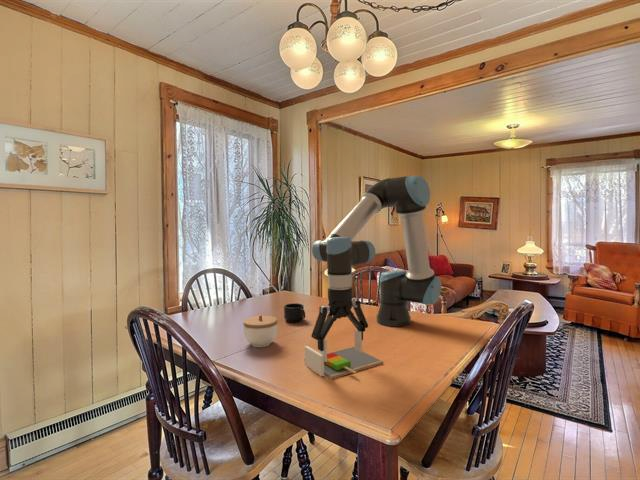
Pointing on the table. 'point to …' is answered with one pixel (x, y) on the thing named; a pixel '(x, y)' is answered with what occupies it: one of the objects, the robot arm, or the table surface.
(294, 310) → the mug
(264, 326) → the lidded bowl
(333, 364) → the popsicle
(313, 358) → the word card
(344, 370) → the slate board
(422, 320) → the table surface
